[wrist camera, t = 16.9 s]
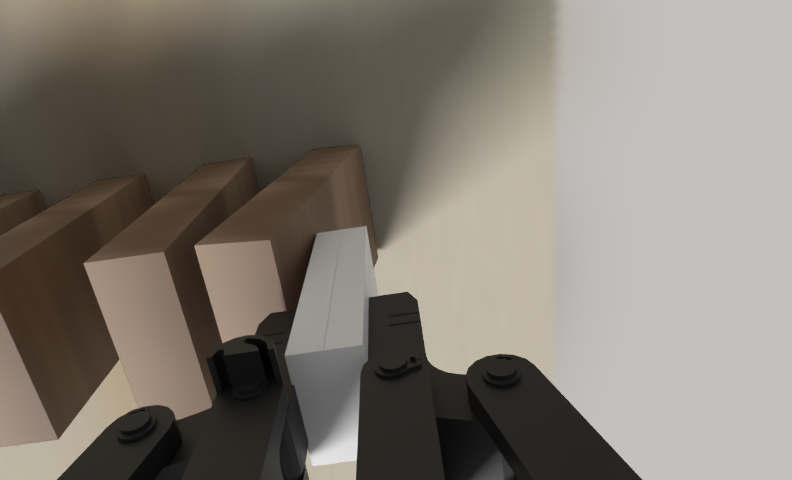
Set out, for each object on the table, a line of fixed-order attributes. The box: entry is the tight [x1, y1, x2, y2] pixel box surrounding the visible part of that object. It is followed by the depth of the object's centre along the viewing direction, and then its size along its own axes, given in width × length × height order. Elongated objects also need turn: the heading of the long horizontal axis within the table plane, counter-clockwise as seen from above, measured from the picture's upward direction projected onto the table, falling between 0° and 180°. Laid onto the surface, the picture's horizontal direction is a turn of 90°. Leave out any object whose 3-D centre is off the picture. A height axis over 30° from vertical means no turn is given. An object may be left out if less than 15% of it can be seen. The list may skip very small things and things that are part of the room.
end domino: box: [194, 145, 378, 343], centre depth 19 cm, size 2×5×10 cm, turn 8°
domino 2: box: [83, 158, 259, 420], centre depth 19 cm, size 2×5×10 cm, turn 8°
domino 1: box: [0, 174, 154, 447], centre depth 19 cm, size 2×5×10 cm, turn 8°
